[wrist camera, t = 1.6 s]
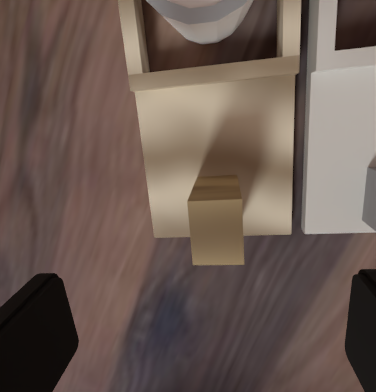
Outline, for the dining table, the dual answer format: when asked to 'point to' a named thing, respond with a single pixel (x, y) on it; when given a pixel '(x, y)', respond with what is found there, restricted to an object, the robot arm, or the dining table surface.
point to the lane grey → (338, 131)
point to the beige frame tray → (217, 141)
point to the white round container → (203, 17)
